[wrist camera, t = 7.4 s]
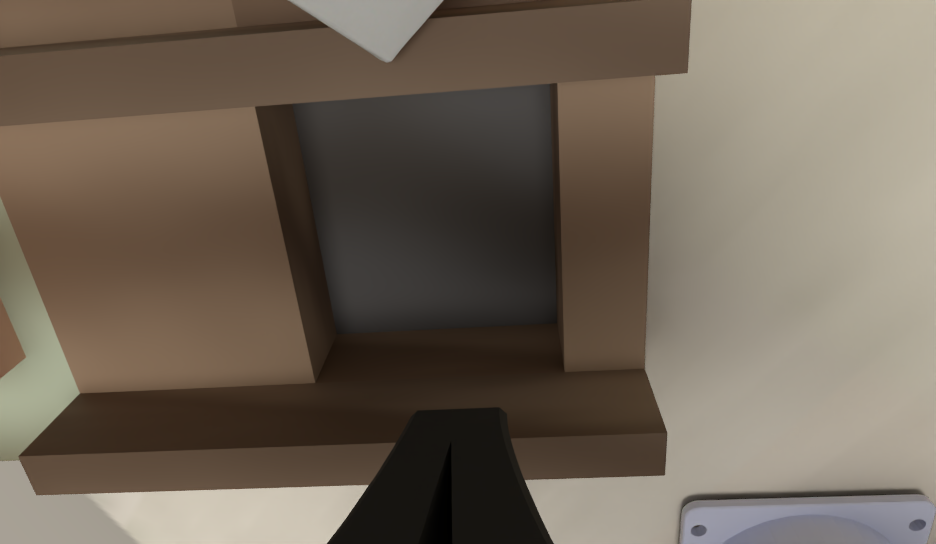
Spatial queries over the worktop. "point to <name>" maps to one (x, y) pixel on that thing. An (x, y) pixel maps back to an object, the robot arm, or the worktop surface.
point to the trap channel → (324, 238)
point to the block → (8, 344)
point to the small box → (373, 21)
